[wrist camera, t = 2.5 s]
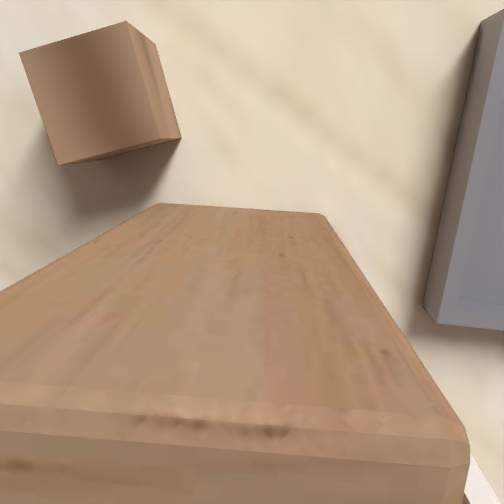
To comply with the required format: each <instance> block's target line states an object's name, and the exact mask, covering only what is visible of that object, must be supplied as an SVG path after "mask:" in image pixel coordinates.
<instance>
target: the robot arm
mask: <svg viewBox="0 0 504 504" xmlns="http://www.w3.org/2000/svg"><path fill="white" fill-rule="evenodd" d="M462 504H501V503H500V502H499V500H498V498H497V497H496V495H495V493H494V492H493V490H492V489H491V487H490V485H489V484H488V482H487V480H486V479H485V477H484V475H483V474H482V472H481V470H480V469H479V467H478V465H477V464H476V462H475V461H474V459H473V457H472V456H471V454H470V466H469V471H468V476H467V480H466V485H465V490H464V494H463V499H462Z"/></svg>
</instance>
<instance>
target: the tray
mask: <svg viewBox="0 0 504 504" xmlns="http://www.w3.org/2000/svg"><path fill="white" fill-rule="evenodd" d="M422 307H423V308H424V309H425V310H426V312H427V313H428V314H429V315H430V316H431V317H432V318H433V320H434V321H435V322H436V323H438V324H447V325H456V326H465V327H474V328H483V329H492V330H501V331H504V9H503V10H501V11H499V12H497V13H495V14H494V15H492V16H490V17H488V18H487V19H485V20H483V21H481V26H480V31H479V35H478V40H477V45H476V50H475V55H474V59H473V64H472V69H471V74H470V79H469V83H468V88H467V93H466V98H465V103H464V108H463V112H462V117H461V122H460V127H459V132H458V136H457V141H456V146H455V151H454V156H453V160H452V165H451V170H450V175H449V180H448V184H447V189H446V194H445V199H444V204H443V209H442V213H441V218H440V223H439V228H438V233H437V237H436V242H435V247H434V252H433V257H432V261H431V266H430V271H429V276H428V281H427V286H426V290H425V295H424V300H423V305H422Z"/></svg>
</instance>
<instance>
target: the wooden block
mask: <svg viewBox="0 0 504 504" xmlns="http://www.w3.org/2000/svg"><path fill="white" fill-rule="evenodd" d="M469 466H470V445H469V441H468V438H467V434H466V430H465V427H464V425H463V424H462V422H461V421H460V419H459V418H458V416H457V414H456V413H455V411H454V410H453V408H452V407H451V405H450V404H449V402H448V401H447V399H446V398H445V396H444V395H443V393H442V392H441V390H440V389H439V387H438V386H437V384H436V383H435V381H434V380H433V378H432V377H431V375H430V374H429V372H428V371H427V369H426V368H425V366H424V365H423V363H422V362H421V360H420V359H419V357H418V356H417V354H416V353H415V351H414V350H413V348H412V347H411V345H410V344H409V342H408V341H407V339H406V338H405V336H404V335H403V333H402V332H401V330H400V329H399V327H398V326H397V324H396V323H395V321H394V320H393V318H392V317H391V315H390V314H389V312H388V311H387V309H386V308H385V306H384V305H383V303H382V302H381V300H380V299H379V297H378V296H377V294H376V293H375V291H374V290H373V288H372V287H371V285H370V284H369V282H368V281H367V279H366V278H365V276H364V274H363V273H362V271H361V270H360V268H359V267H358V265H357V264H356V262H355V261H354V259H353V258H352V256H351V255H350V253H349V252H348V250H347V249H346V247H345V246H344V244H343V243H342V241H341V240H340V238H339V237H338V235H337V234H336V232H335V231H334V229H333V228H332V226H331V225H330V223H329V222H328V220H327V219H326V217H325V216H323V215H321V214H318V213H303V212H288V211H273V210H258V209H243V208H228V207H213V206H198V205H183V204H168V203H159V204H156V205H153V206H152V207H150V208H148V209H146V210H145V211H143V212H141V213H139V214H137V215H136V216H134V217H132V218H130V219H129V220H127V221H125V222H123V223H121V224H120V225H118V226H116V227H114V228H113V229H111V230H109V231H107V232H105V233H104V234H102V235H100V236H98V237H97V238H95V239H93V240H91V241H89V242H88V243H86V244H84V245H82V246H81V247H79V248H77V249H75V250H73V251H72V252H70V253H68V254H66V255H65V256H63V257H61V258H59V259H57V260H56V261H54V262H52V263H50V264H49V265H47V266H45V267H43V268H41V269H40V270H38V271H36V272H34V273H33V274H31V275H29V276H27V277H25V278H24V279H22V280H20V281H18V282H17V283H15V284H13V285H11V286H9V287H8V288H6V289H4V290H2V291H1V292H0V504H462V499H463V494H464V490H465V485H466V480H467V476H468V471H469Z"/></svg>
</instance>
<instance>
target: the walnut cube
mask: <svg viewBox="0 0 504 504" xmlns="http://www.w3.org/2000/svg"><path fill="white" fill-rule="evenodd" d="M19 55H20V57H21V60H22V63H23V66H24V69H25V72H26V75H27V78H28V80H29V83H30V86H31V89H32V92H33V95H34V98H35V100H36V103H37V106H38V109H39V112H40V115H41V118H42V121H43V123H44V126H45V129H46V132H47V135H48V138H49V141H50V144H51V146H52V149H53V152H54V155H55V158H56V161H57V164H58V165H65V164H73V163H81V162H88V161H96V160H101V159H105V158H108V157H112V156H116V155H120V154H123V153H127V152H131V151H135V150H138V149H142V148H146V147H150V146H154V145H157V144H161V143H165V142H169V141H172V140H176V139H180V138H181V134H180V130H179V127H178V123H177V120H176V116H175V113H174V109H173V105H172V102H171V98H170V95H169V91H168V88H167V84H166V80H165V77H164V73H163V70H162V66H161V63H160V59H159V55H158V52H157V48H156V45H155V44H154V43H153V42H152V41H151V40H149V39H148V38H147V37H146V36H144V35H143V34H142V33H141V32H139V31H138V30H137V29H136V28H134V27H133V26H132V25H131V24H129V23H128V22H127V21H125V22H121V23H118V24H114V25H111V26H108V27H104V28H101V29H98V30H94V31H91V32H87V33H84V34H81V35H77V36H74V37H71V38H67V39H64V40H61V41H57V42H54V43H50V44H47V45H44V46H40V47H37V48H34V49H30V50H27V51H23V52H20V53H19Z"/></svg>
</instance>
